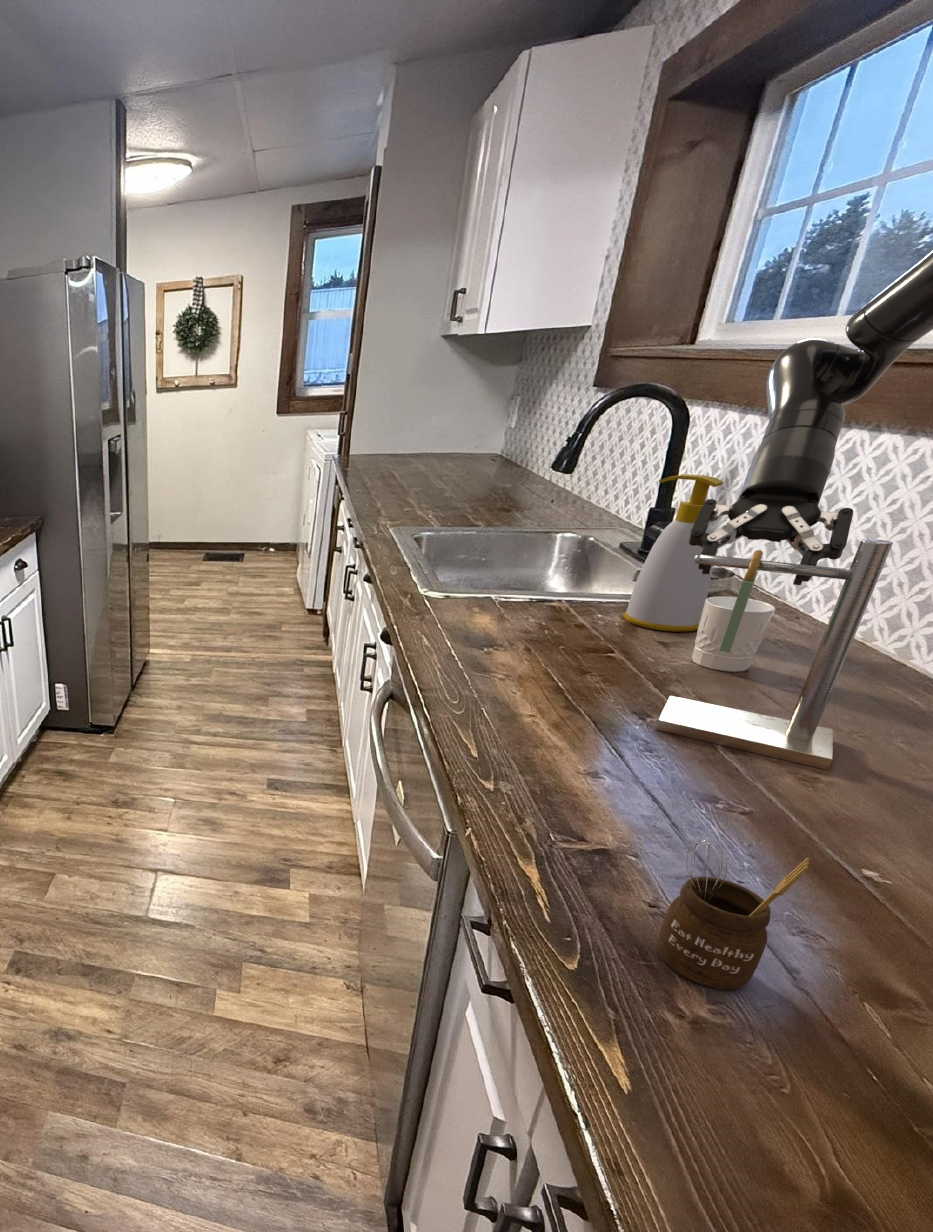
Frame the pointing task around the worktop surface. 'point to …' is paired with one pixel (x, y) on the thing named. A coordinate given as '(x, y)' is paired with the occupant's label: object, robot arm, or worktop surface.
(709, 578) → the soap bottle
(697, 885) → the utensil holder
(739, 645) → the white cup
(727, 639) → the green spatula stick
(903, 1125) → the worktop surface
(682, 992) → the worktop surface
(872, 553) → the stand
